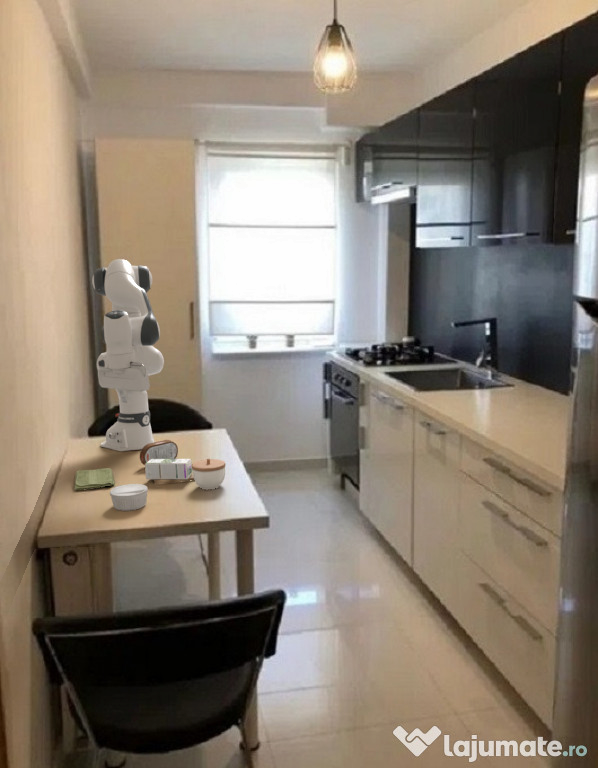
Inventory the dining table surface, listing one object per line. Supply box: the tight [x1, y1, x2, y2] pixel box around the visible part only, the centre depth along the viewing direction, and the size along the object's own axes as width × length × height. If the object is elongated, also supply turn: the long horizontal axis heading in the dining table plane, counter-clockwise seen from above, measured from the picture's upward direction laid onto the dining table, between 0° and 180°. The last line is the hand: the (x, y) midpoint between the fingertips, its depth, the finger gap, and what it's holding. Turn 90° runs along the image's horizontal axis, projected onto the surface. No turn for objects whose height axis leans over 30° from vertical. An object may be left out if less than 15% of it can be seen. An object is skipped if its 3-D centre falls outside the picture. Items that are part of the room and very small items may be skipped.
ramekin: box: [109, 483, 149, 512], centre depth 215 cm, size 11×11×5 cm
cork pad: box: [153, 471, 194, 486], centre depth 244 cm, size 14×14×1 cm
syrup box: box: [144, 458, 193, 480], centre depth 239 cm, size 6×6×14 cm
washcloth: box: [73, 467, 116, 492], centre depth 241 cm, size 13×18×3 cm
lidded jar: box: [192, 457, 226, 491], centre depth 231 cm, size 11×11×9 cm
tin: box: [139, 439, 179, 466], centre depth 259 cm, size 15×3×8 cm, turn 134°
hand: (126, 402), depth 237 cm, fingers closed
